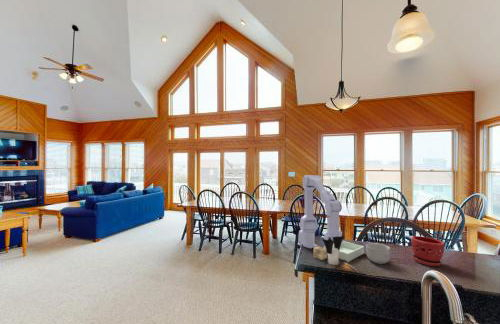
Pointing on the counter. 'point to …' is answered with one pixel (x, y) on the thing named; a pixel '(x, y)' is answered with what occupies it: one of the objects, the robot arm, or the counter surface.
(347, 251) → the tote
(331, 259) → the white canister
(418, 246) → the plant pot
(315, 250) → the oak cube
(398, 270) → the counter surface
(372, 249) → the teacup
